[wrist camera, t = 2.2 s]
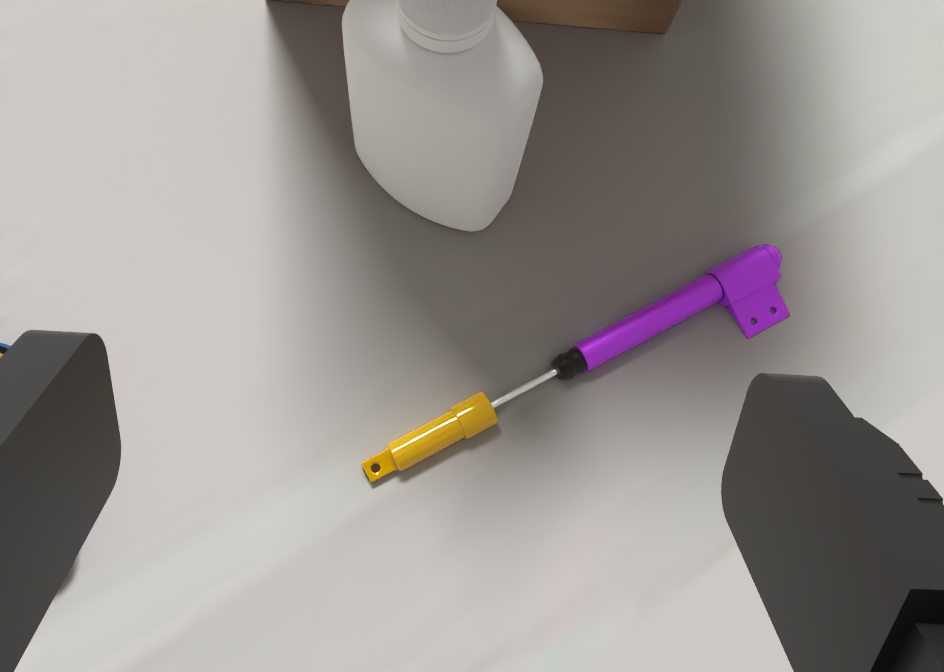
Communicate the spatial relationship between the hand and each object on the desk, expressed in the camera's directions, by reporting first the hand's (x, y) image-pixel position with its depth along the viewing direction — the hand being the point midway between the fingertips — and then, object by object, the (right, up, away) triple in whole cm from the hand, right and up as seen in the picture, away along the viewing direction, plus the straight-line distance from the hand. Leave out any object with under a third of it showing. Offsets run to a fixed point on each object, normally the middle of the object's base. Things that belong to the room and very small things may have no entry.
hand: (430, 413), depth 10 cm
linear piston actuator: (+4, -1, +17) cm, 18 cm away
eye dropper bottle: (-1, +7, +18) cm, 19 cm away
